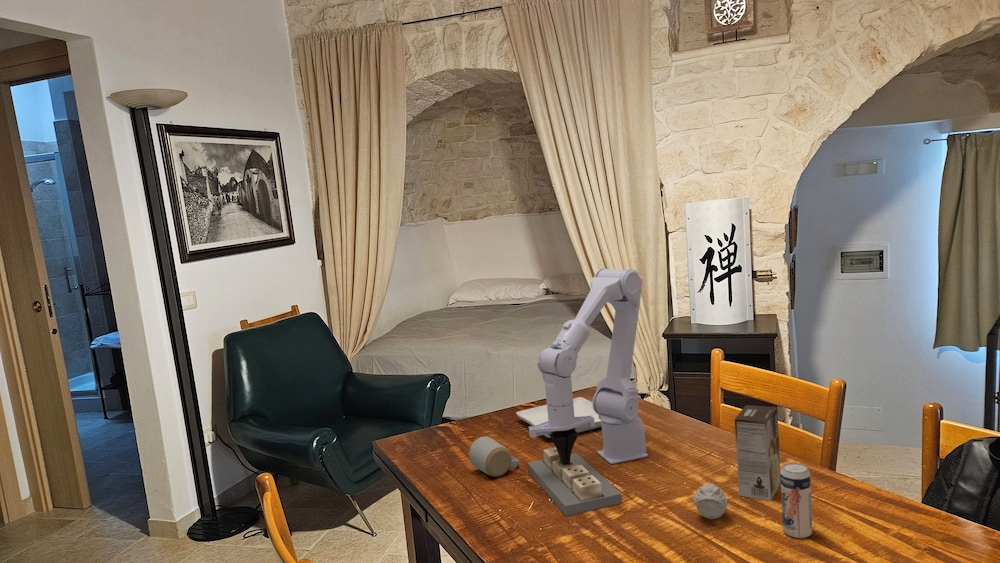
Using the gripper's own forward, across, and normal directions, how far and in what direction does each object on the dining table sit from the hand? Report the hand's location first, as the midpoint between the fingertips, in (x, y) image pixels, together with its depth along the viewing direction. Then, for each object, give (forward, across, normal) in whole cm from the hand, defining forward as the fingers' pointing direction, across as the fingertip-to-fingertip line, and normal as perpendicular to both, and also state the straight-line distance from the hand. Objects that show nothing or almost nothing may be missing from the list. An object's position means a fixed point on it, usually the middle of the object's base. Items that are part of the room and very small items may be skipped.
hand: (565, 462), depth 148 cm
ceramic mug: (+4, +12, -13) cm, 19 cm away
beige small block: (+3, 0, +6) cm, 7 cm away
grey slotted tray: (+4, 0, +3) cm, 5 cm away
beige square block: (+3, 0, +12) cm, 12 cm away
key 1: (+3, 0, -6) cm, 7 cm away
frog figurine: (+4, -18, +28) cm, 34 cm away
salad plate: (+5, -13, -34) cm, 37 cm away
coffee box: (+4, -33, +22) cm, 40 cm away
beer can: (+4, -28, +39) cm, 48 cm away
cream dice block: (+3, 0, 0) cm, 3 cm away
